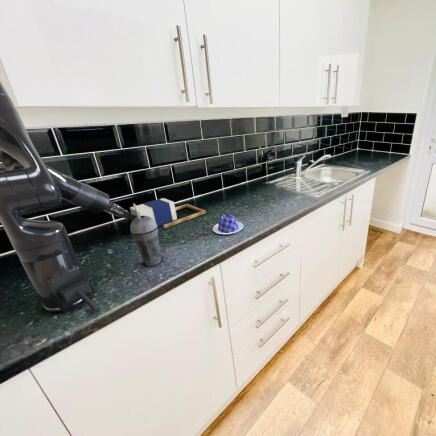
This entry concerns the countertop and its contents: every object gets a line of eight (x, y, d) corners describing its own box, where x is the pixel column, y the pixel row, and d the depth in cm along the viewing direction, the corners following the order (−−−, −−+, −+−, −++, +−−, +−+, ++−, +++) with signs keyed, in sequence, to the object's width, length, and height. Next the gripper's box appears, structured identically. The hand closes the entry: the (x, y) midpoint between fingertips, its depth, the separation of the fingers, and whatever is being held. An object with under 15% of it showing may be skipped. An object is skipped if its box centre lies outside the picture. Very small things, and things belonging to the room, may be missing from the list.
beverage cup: (170, 257, 83) (157, 199, 75) (155, 269, 77) (138, 208, 68) (151, 254, 85) (136, 197, 76) (134, 266, 78) (115, 206, 70)
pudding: (249, 230, 101) (248, 217, 98) (220, 239, 94) (218, 226, 92) (235, 220, 109) (234, 208, 107) (208, 227, 103) (206, 215, 101)
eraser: (144, 231, 100) (139, 211, 97) (134, 225, 105) (129, 207, 102) (177, 219, 111) (173, 201, 107) (167, 214, 115) (163, 197, 112)
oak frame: (164, 228, 102) (164, 225, 102) (146, 219, 111) (146, 216, 110) (206, 213, 116) (205, 210, 116) (187, 206, 125) (187, 203, 124)
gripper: (102, 192, 83) (149, 214, 97) (88, 185, 91) (133, 207, 105) (89, 212, 82) (138, 232, 96) (75, 203, 89) (122, 223, 103)
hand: (135, 219), depth 100 cm, fingers closed
